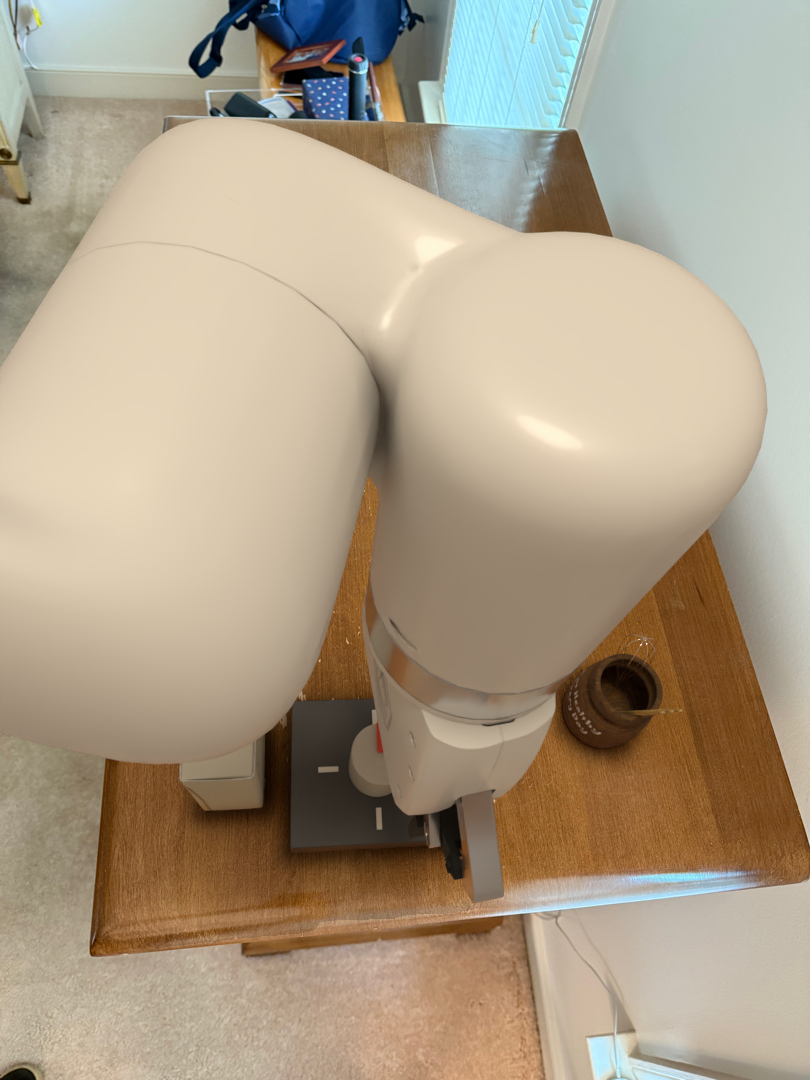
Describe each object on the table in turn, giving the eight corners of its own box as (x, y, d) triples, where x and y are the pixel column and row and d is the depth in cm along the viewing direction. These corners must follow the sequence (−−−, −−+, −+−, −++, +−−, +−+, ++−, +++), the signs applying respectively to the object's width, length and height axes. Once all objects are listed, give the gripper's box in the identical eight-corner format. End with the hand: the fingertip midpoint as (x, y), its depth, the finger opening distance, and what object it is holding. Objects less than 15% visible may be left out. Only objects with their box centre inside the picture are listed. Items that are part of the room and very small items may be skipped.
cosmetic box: (207, 726, 55) (182, 674, 44) (268, 723, 56) (257, 671, 45) (203, 815, 52) (174, 782, 41) (266, 811, 53) (255, 778, 42)
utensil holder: (621, 673, 61) (685, 616, 50) (642, 750, 58) (715, 707, 47) (552, 680, 60) (603, 624, 49) (571, 759, 57) (629, 717, 46)
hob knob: (406, 795, 51) (414, 782, 47) (349, 798, 51) (352, 785, 46) (403, 738, 53) (410, 720, 49) (347, 740, 53) (350, 722, 48)
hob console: (291, 853, 51) (289, 848, 49) (292, 712, 56) (291, 700, 53) (459, 844, 53) (467, 838, 50) (447, 707, 58) (454, 695, 55)
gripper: (329, 405, 28) (326, 594, 43) (422, 912, 20) (378, 926, 35) (518, 388, 29) (451, 577, 44) (676, 856, 21) (529, 893, 36)
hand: (419, 731), depth 39 cm, fingers open, 9 cm apart
